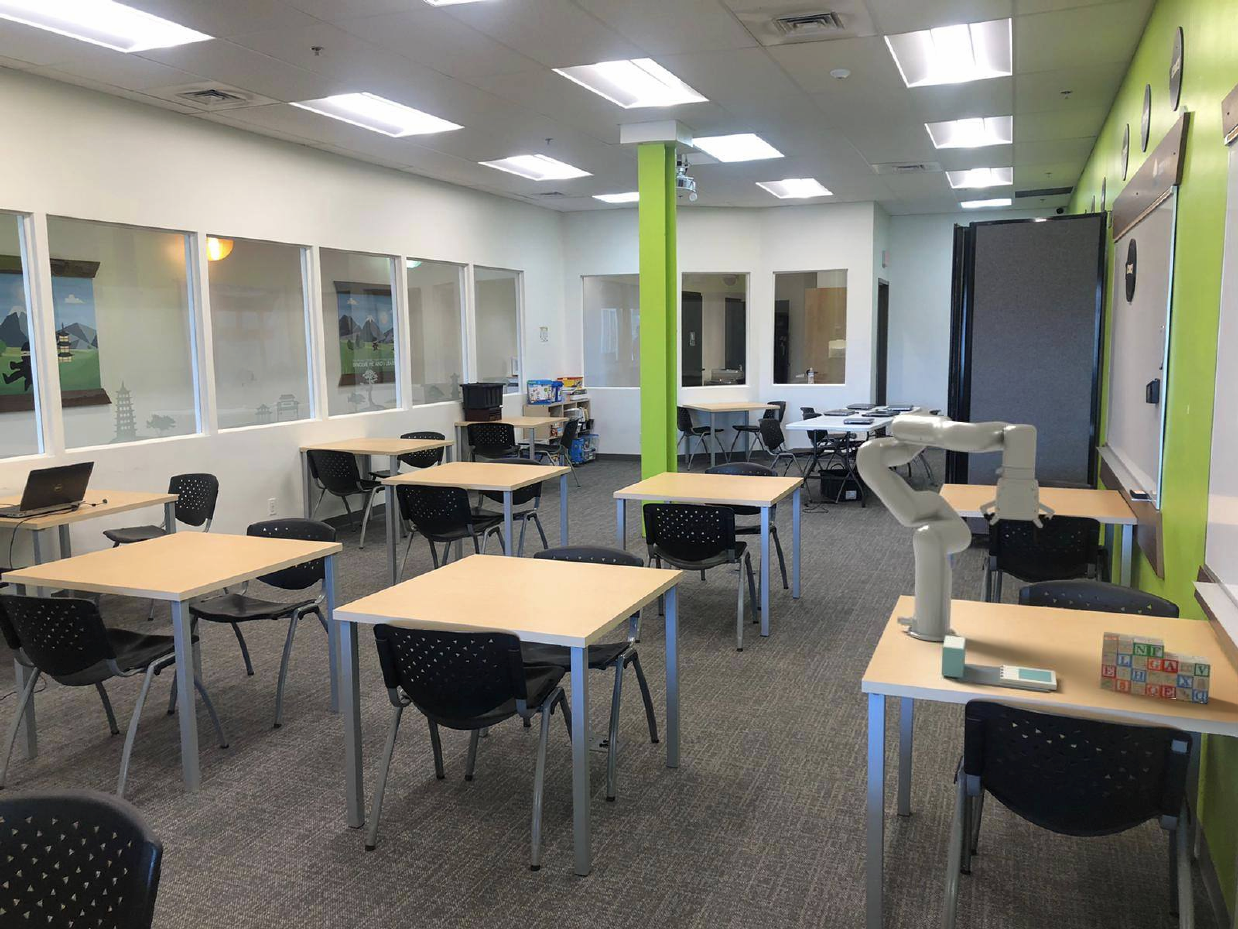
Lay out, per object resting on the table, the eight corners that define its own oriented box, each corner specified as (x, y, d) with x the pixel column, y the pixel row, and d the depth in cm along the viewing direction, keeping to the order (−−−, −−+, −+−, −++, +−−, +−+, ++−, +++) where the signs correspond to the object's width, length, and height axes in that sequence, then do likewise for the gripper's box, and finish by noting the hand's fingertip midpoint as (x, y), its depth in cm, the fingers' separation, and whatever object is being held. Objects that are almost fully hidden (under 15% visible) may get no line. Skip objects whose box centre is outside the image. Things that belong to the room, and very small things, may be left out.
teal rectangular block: (941, 675, 224) (942, 646, 223) (944, 662, 233) (945, 635, 232) (962, 678, 222) (963, 649, 221) (964, 664, 231) (965, 637, 230)
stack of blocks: (1206, 696, 211) (1210, 643, 210) (1208, 705, 206) (1212, 651, 204) (1100, 680, 222) (1103, 630, 220) (1099, 689, 216) (1102, 637, 215)
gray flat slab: (956, 681, 221) (957, 674, 221) (959, 664, 233) (960, 657, 233) (1056, 693, 213) (1056, 686, 213) (1054, 675, 225) (1054, 668, 224)
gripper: (980, 474, 232) (977, 541, 234) (1057, 477, 225) (1053, 546, 228) (981, 470, 239) (978, 535, 241) (1055, 473, 232) (1052, 540, 234)
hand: (1015, 541), depth 234 cm, fingers open, 9 cm apart
